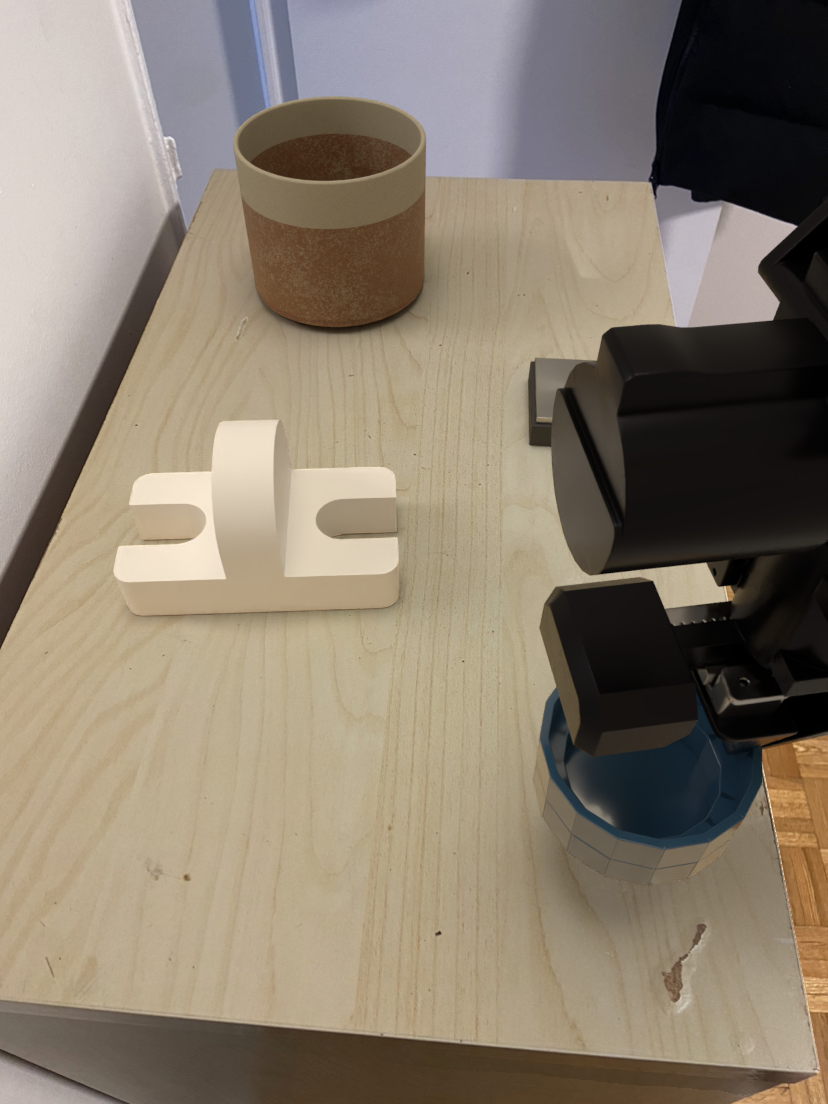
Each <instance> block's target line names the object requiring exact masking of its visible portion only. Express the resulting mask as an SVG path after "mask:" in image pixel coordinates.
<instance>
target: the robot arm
mask: <svg viewBox="0 0 828 1104" xmlns="http://www.w3.org/2000/svg"><path fill="white" fill-rule="evenodd" d="M757 274H758V275H759V276H760V277H761V279H762V280H763V282H764V283H765V285H766V286H767V287H768V289H769V290H770V291H771V292H772V294H773V296H774V297H775V298H776V299H777V301H778V302H779V303H778V306H777V309H776V310H775V314H774V316H773V319H772V320H771V319H770V320H762V321H761V320H759V321H749V322H748V321H747V322H736V323H729V324H728V323H727V324H715V325H702V326H685V327H684V326H683V327H682V326H674V325H667V324H662V323H661V324H660V323H649V324H648V323H646V324H635V325H624V326H622V325H621V326H612V327H610V328H608V330H606V331H605V332H604V333H603V334H602V335H601V339H600V344H599V349H598V352H597V358H596V360H597V361H589V362H583V363H580V364H577V365H576V366H575V367H574V368H573V370H572V371H571V372H570V374H569V376H568V379H567V381H566V384H565V386H564V388H558V389H557V391H556V396H555V401H554V407H553V417H552V431H551V446H550V455H551V471H552V483H553V491H554V492H553V493H554V497H555V503H556V507H557V514H558V517H559V521H560V522H559V523H560V526H561V529H562V534H563V537H564V540H565V543H566V545H567V548H568V549H569V552H570V554H571V556H572V558H573V560H574V563H576V565H577V566H578V567H579V569H580V570H581V572H584V574H587V575H588V576H600V575H609V574H616V573H628V572H635V571H644V570H653V569H662V568H672V567H680V566H681V567H682V566H689V565H697V564H706V566H707V568H708V570H709V572H710V574H711V577H712V578H713V580H714V582H715V585H716V586H717V587H718V588H723V587H730V589H731V591H732V593H733V594H734V595H733V597H732V600H726V601H718V602H710V603H709V602H708V603H700V604H694V605H692V604H691V605H684V606H677V607H667V608H665V606H664V604H663V601H662V598H661V596H660V594H659V591H658V589H657V587H656V584H655V581H654V580H652V579H650V578H645V577H642V576H635V577H626V578H620V579H619V578H618V579H609V580H602V581H601V580H600V581H593V582H583V583H577V584H576V583H575V584H567V585H559V586H558V585H557V586H555V587H554V588H553V590H552V591H551V593H550V594H549V596H548V597H547V599H546V600H545V602H544V603H543V608H542V613H541V617H540V622H539V627H538V629H539V632H540V635H541V640H542V642H543V647H544V649H545V652H546V656H547V659H548V663H549V666H550V669H551V673H552V676H553V680H554V683H555V688H556V687H557V690H558V694H559V697H560V701H561V704H562V707H563V711H564V714H565V718H566V721H567V725H568V728H569V731H570V735H571V738H572V742H573V745H574V746H576V747H578V748H579V749H581V750H582V751H584V752H586V753H587V754H589V755H590V756H592V757H598V756H605V755H613V754H620V753H627V752H635V751H642V750H649V749H657V748H664V747H666V746H668V745H670V744H672V743H674V742H676V741H678V740H680V739H682V738H684V737H686V736H688V735H690V733H691V732H692V730H693V728H694V726H695V724H696V722H697V720H698V713H697V698H696V693H697V695H698V698H699V700H700V702H701V705H702V707H703V710H704V712H705V715H706V717H707V719H708V722H709V724H710V727H711V729H712V731H713V733H714V734H715V736H716V737H717V738H719V739H720V740H721V741H722V744H723V746H724V749H725V751H726V753H727V754H728V755H732V754H738V753H741V752H744V751H748V750H751V749H754V748H757V747H759V746H762V751H763V750H768V749H773V748H776V747H780V746H785V745H789V744H793V743H798V742H802V741H807V740H811V739H813V740H814V739H817V738H821V737H827V736H828V198H826V199H825V200H824V201H823V202H822V203H820V205H818V206H817V208H816V209H814V210H813V211H812V212H811V213H810V214H809V215H808V216H807V217H806V218H805V219H804V220H803V221H802V222H801V223H799V224H798V225H797V226H796V227H795V228H794V229H793V230H792V231H791V232H790V233H788V235H786V236H785V237H784V239H782V240H781V241H780V242H779V243H778V244H777V245H776V246H775V247H774V248H773V249H772V250H771V251H769V252H768V253H767V254H766V255H765V256H764V257H763V258H762V259H761V260H760V262H759V264H758V265H757Z"/></svg>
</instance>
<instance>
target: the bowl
mask: <svg viewBox="0 0 828 1104" xmlns="http://www.w3.org/2000/svg"><path fill="white" fill-rule="evenodd" d="M696 698H697V713H698V720H697V722H696V724H695V726H694V728H693V730H692V732H691V733H690V735H688V736H686V737H684V738H682V739H680V740H678V741H676V742H674V743H672V744H670V745H668V746H666V747H664V748H657V749H649V750H642V751H635V752H627V753H620V754H613V755H605V756H598V757H592V756H590V755H589V754H587V753H586V752H584V751H582V750H581V749H579V748H578V747H576V746H574V745H573V742H572V738H571V735H570V731H569V728H568V725H567V721H566V718H565V714H564V711H563V707H562V704H561V701H560V697H559V694H558V690H557V687H556V686H555V688H554V689H553V691H552V692H551V693H550V695H549V696H548V698H547V699H546V701H545V703H544V709H543V710H544V711H543V714H542V720H541V727H540V732H539V738H538V739H539V740H538V745H537V752H536V757H535V764H534V772H533V779H532V780H533V786H534V790H535V795H536V799H537V803H538V806H539V810H540V811H539V812H540V814H541V818H542V819H543V821H544V822H545V824H546V825H547V827H548V828H549V829H550V831H551V832H552V834H553V835H554V836H555V838H556V839H557V841H558V842H559V843H560V845H561V847H562V848H563V849H564V851H566V852H567V853H568V854H569V855H571V856H572V857H574V858H575V859H577V860H578V861H580V862H581V863H583V864H585V866H587V867H588V868H590V869H591V870H593V871H595V872H596V873H597V874H599V875H601V876H603V877H604V878H608V879H612V880H616V881H620V882H624V883H628V884H629V883H630V884H633V885H637V886H640V887H641V886H642V887H651V886H657V885H663V884H668V883H675V882H679V881H680V882H681V881H686V880H689V879H691V878H692V877H693V876H694V875H696V874H697V873H700V871H701V870H703V869H705V868H706V867H708V866H709V865H710V864H712V863H713V862H714V861H716V860H717V859H719V857H720V856H721V854H722V853H723V851H724V850H725V848H726V847H727V845H728V844H729V843H730V841H731V840H732V838H733V837H734V835H735V834H736V832H737V831H738V829H739V827H740V826H741V824H742V823H743V822H744V820H745V819H746V817H747V815H748V813H749V811H750V809H751V807H752V805H753V803H754V801H755V799H756V797H757V795H758V793H759V792H760V789H761V788H762V785H763V750H762V746H759V747H757V748H754V749H751V750H748V751H744V752H741V753H738V754H732V755H728V754H727V753H726V751H725V749H724V746H723V744H722V741H721V740H720V739H719V738H717V737H716V736H715V734H714V733H713V731H712V729H711V727H710V724H709V722H708V719H707V717H706V715H705V712H704V710H703V707H702V705H701V702H700V700H699V698H698V695H697V693H696Z"/></svg>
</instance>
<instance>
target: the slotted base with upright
mask: <svg viewBox="0 0 828 1104" xmlns="http://www.w3.org/2000/svg"><path fill="white" fill-rule="evenodd" d="M213 439H214V440H213V445H212V454H211V471H210V470H209V471H207V470H206V471H173V472H172V471H171V472H149V473H146V474H143V475H141V476H140V477H138V478H137V479H136V480H135V481H134V482H133V485H132V489H131V492H130V497H129V501H128V507H129V510H130V513H131V515H132V518H133V521H134V523H135V527H136V529H137V531H138V534H139V537H140V539H141V541H153V540H184V539H186V540H187V539H188V541H185V542H182V543H169V544H140V545H139V544H137V545H118V548H117V550H116V551H117V552H116V556H115V560H114V563H113V567H112V569H113V570H112V572H113V575H114V577H115V581H116V583H117V584H118V587H119V589H120V592H121V594H122V597H123V598H124V601H125V603H126V605H127V607H128V610H129V611H130V612H131V613H132V614H134V615H136V616H140V617H141V616H142V617H145V616H147V617H149V616H176V615H178V616H179V615H183V616H184V615H207V614H209V615H210V614H211V615H213V614H238V613H243V614H244V613H271V612H273V613H275V612H300V611H301V612H303V611H330V610H332V611H333V610H362V609H365V610H366V609H385V608H388V607H391V606H392V605H394V604H395V603H396V602H398V599H399V598H400V561H399V559H400V557H399V556H400V555H399V537H368V538H367V537H366V538H334V537H337V536H340V535H349V534H351V535H353V534H354V535H355V534H382V533H383V534H385V533H387V534H389V533H398V515H397V482H396V475H395V473H394V472H393V471H392V470H391V469H389V468H387V467H385V466H360V467H359V466H354V467H353V466H352V467H351V466H349V467H321V468H320V467H319V468H293V466H292V460H291V454H290V447H289V440H288V437H287V430H286V427H285V424H284V422H283V420H282V419H280V418H279V419H277V418H276V419H242V420H240V419H239V420H222V421H219V423H218V425H217V427H216V430H215V436H214V438H213Z"/></svg>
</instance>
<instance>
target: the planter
mask: <svg viewBox="0 0 828 1104" xmlns="http://www.w3.org/2000/svg"><path fill="white" fill-rule="evenodd" d="M232 140H233V141H232V148H233V153H234V161H235V167H236V173H237V180H238V185H239V192H240V198H241V204H242V210H243V216H244V222H245V230H246V235H247V242H248V247H249V254H250V259H251V260H250V261H251V267H252V273H253V278H254V279H253V280H254V286H255V289H256V292H257V294H258V296H259V298H260V299H261V300H262V302H263V303H264V304H265V305H266V306H267V307H268V308H269V309H271V310H272V311H273V312H275V313H276V314H278V315H280V316H281V317H284V318H286V319H289V320H291V321H294V322H298V323H301V324H305V325H310V326H315V327H316V326H317V327H324V328H348V327H356V326H363V325H368V324H371V323H375V322H378V321H382V320H384V319H387V318H389V317H391V316H393V315H395V314H397V313H399V312H401V311H403V310H404V309H405V308H406V307H408V306H410V304H412V303H413V301H414V300H415V299H417V297H418V295H419V294H420V292H421V290H422V288H423V285H424V283H425V282H424V281H425V261H426V260H425V253H426V252H425V250H426V185H427V184H426V183H427V180H426V179H427V178H426V177H427V135H426V130H425V129H424V126H423V125H422V123H420V122H419V120H418V119H417V118H416V117H414V116H413V115H412V114H410V113H408V111H405V110H403V109H401V108H400V107H397V106H394V105H392V104H390V103H387V102H383V101H379V100H374V99H369V98H363V97H355V96H344V95H343V96H342V95H341V96H338V95H331V96H327V95H326V96H314V97H305V98H299V99H294V100H290V101H285V102H281V103H279V104H276V105H272V106H270V107H267V108H265V109H263V110H261V111H258V112H256V113H255V114H253V115H252V116H250V117H249V118H248V119H246V120H245V121H244V122H243V123H242V124H241V125H240V126H239V127H238V128H237V130H236V132H235V133H234V136H233V139H232Z"/></svg>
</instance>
